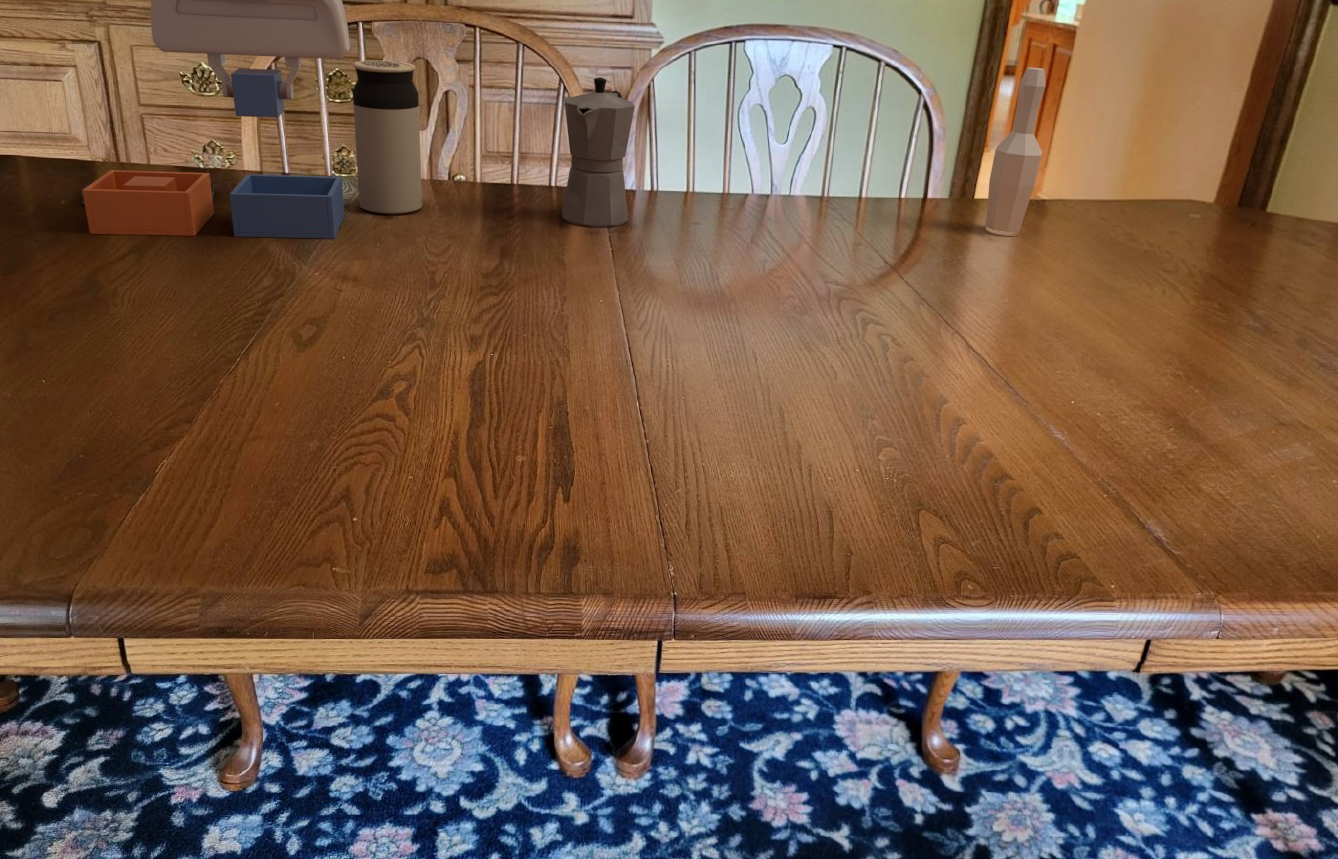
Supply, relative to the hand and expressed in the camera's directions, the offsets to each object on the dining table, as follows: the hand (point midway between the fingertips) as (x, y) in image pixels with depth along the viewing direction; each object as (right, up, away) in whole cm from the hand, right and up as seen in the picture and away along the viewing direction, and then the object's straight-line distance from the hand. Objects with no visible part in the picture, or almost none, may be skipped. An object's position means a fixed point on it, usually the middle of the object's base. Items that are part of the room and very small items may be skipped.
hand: (259, 97), depth 118 cm
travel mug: (+9, -8, +20) cm, 24 cm away
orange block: (-15, -12, +7) cm, 20 cm away
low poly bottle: (+93, -9, +31) cm, 98 cm away
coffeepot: (+36, -9, +23) cm, 44 cm away
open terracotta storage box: (-20, -8, +17) cm, 27 cm away
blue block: (0, -1, +1) cm, 2 cm away
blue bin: (0, -13, +9) cm, 16 cm away
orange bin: (-15, -13, +7) cm, 21 cm away
